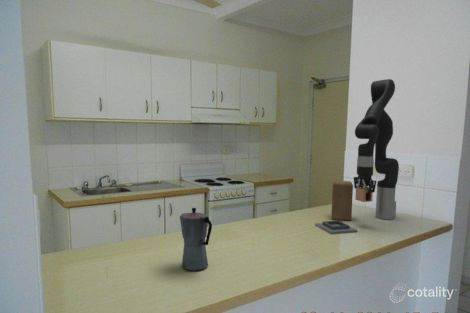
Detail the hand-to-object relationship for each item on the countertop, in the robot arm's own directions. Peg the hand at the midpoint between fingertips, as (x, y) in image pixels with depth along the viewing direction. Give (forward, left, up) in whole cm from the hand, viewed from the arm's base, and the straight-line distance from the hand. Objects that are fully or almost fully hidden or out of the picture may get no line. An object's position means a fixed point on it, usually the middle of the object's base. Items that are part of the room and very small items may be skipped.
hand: (363, 199), depth 155 cm
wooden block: (+1, -16, -14) cm, 21 cm away
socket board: (+15, 0, -14) cm, 21 cm away
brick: (0, 0, -1) cm, 1 cm away
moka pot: (+87, +27, -14) cm, 92 cm away
